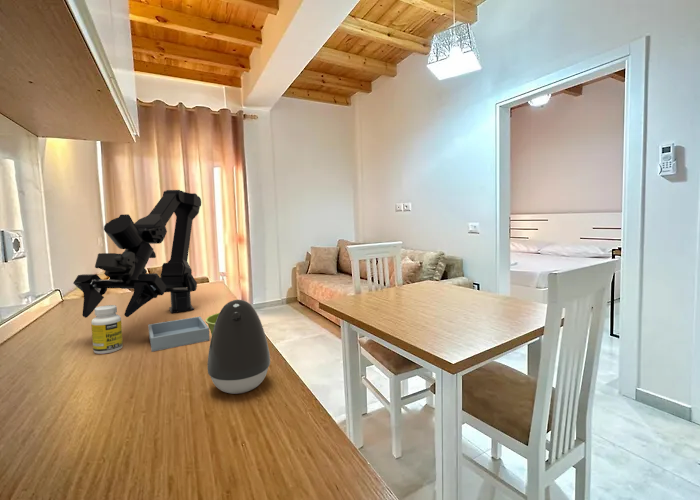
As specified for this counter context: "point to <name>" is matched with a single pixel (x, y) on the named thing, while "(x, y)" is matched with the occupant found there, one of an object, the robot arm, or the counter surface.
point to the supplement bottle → (106, 330)
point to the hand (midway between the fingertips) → (105, 316)
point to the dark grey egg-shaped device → (238, 349)
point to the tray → (177, 333)
